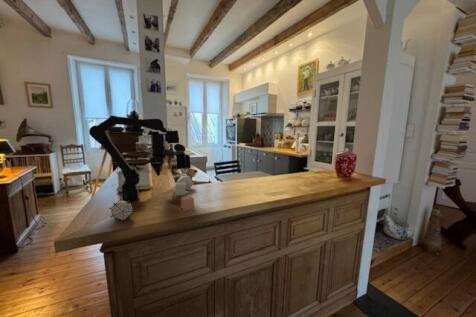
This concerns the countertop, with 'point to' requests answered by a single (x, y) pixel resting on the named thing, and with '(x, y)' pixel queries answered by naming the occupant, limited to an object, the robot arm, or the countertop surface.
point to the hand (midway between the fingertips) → (159, 173)
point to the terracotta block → (187, 202)
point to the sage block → (180, 188)
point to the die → (186, 181)
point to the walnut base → (177, 197)
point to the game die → (121, 210)
